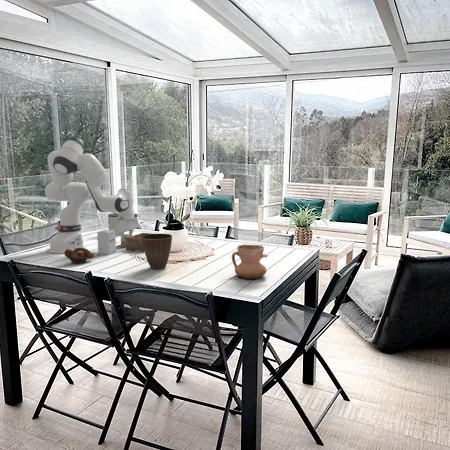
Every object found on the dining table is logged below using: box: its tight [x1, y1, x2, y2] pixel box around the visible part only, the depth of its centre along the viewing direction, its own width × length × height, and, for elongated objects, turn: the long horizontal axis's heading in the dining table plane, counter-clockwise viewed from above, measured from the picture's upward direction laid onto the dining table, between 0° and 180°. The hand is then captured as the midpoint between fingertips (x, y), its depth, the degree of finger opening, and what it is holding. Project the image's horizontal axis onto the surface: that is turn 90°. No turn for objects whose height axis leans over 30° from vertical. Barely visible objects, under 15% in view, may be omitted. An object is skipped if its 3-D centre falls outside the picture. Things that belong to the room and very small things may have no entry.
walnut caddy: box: [125, 232, 153, 252], centre depth 269 cm, size 18×14×7 cm
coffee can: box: [107, 212, 125, 237], centre depth 309 cm, size 10×10×14 cm
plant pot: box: [141, 233, 173, 271], centre depth 223 cm, size 15×15×16 cm
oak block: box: [120, 233, 133, 246], centre depth 274 cm, size 5×5×6 cm
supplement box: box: [96, 229, 117, 256], centre depth 255 cm, size 7×7×13 cm
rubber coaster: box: [116, 243, 126, 249], centre depth 274 cm, size 9×9×1 cm
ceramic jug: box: [231, 244, 269, 280], centre depth 208 cm, size 18×14×14 cm
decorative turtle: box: [63, 247, 95, 265], centre depth 234 cm, size 10×15×8 cm, turn 130°
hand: (126, 238), depth 273 cm, fingers open, 6 cm apart
